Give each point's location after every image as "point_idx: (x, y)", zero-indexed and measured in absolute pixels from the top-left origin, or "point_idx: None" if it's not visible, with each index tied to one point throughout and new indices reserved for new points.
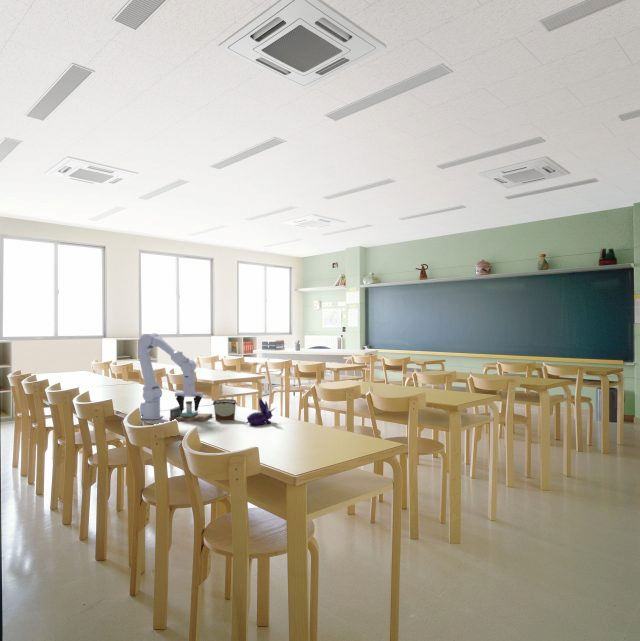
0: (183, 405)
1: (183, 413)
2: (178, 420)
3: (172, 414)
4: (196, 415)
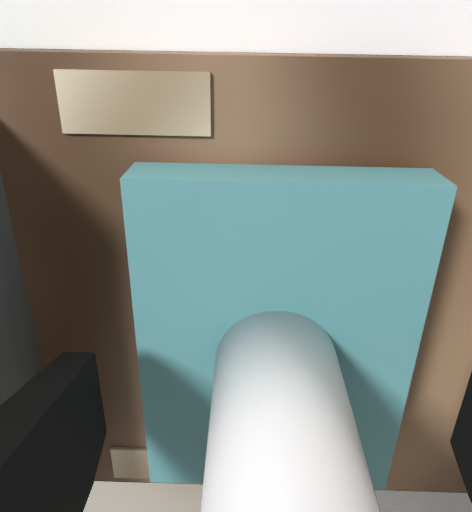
0: (28, 448)
1: (175, 422)
2: None
3: None
4: None
